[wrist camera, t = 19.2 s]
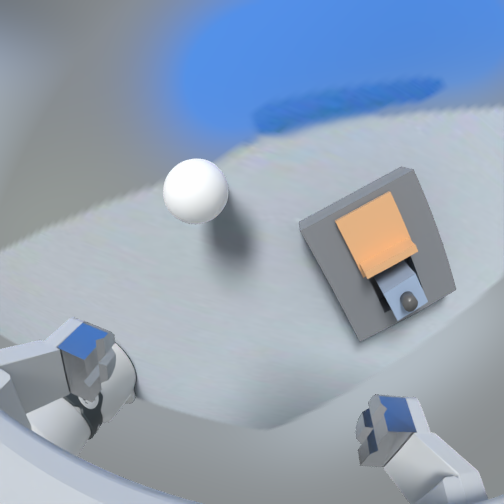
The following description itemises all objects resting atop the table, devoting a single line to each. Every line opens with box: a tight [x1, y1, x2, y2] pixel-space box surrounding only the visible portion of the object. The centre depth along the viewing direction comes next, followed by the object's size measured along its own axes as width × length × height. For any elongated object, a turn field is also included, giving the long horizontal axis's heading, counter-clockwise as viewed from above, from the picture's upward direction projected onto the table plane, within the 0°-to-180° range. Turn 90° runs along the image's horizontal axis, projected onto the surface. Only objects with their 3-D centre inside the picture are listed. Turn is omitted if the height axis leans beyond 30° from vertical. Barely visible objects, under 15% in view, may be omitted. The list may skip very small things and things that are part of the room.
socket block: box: [299, 167, 456, 341], centre depth 34 cm, size 14×16×4 cm
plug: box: [374, 260, 428, 321], centre depth 32 cm, size 4×4×8 cm
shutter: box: [335, 191, 418, 279], centre depth 30 cm, size 7×7×3 cm
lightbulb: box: [163, 159, 229, 224], centre depth 31 cm, size 6×6×11 cm
